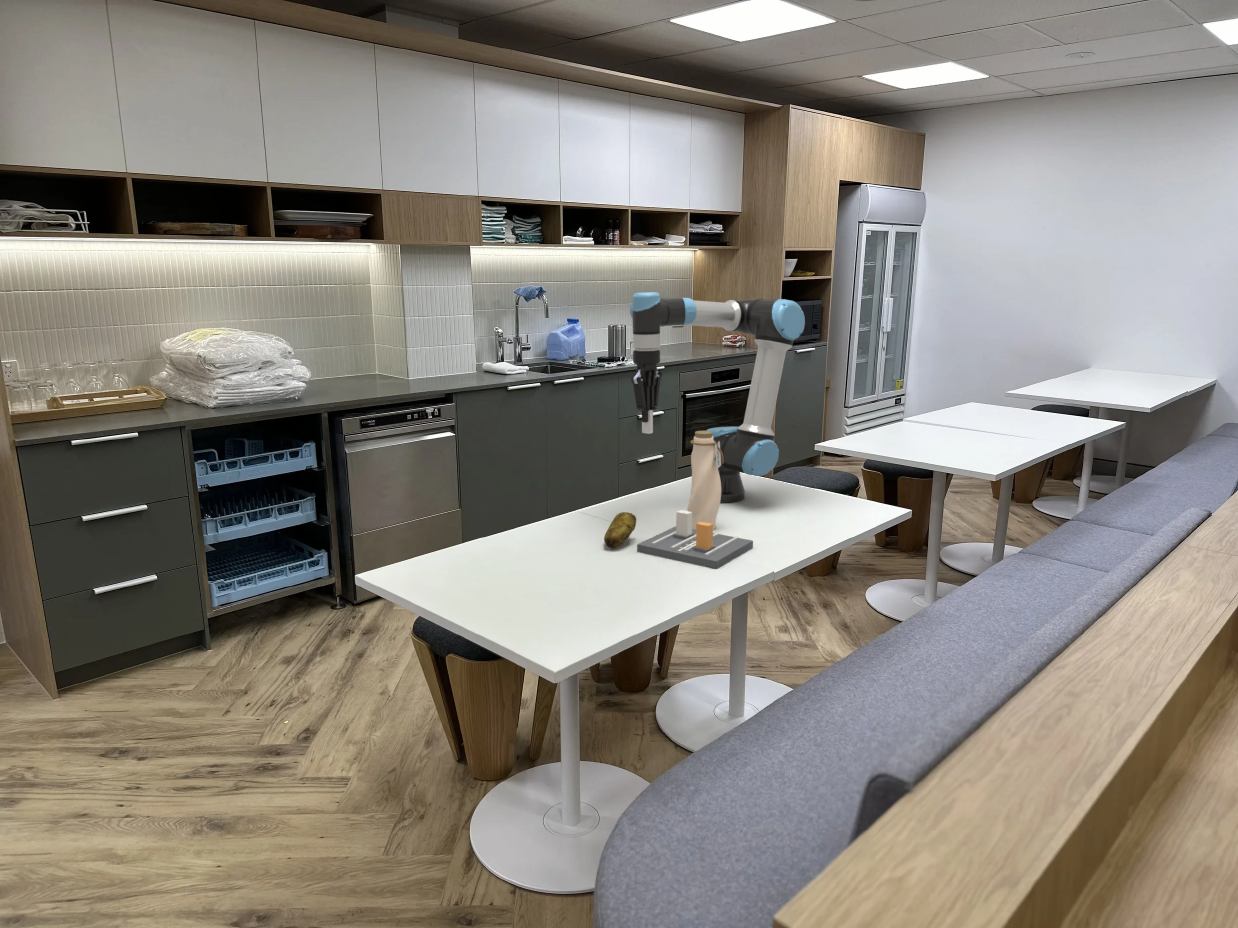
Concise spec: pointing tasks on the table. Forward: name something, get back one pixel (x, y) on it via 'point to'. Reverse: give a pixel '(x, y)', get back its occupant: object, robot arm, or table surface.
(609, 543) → the potato
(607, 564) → the table surface
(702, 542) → the fader
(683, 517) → the fader
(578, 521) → the table surface
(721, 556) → the console
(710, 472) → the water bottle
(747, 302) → the robot arm
